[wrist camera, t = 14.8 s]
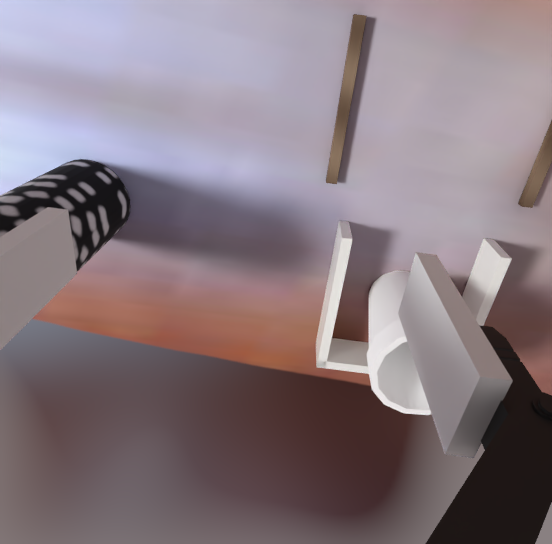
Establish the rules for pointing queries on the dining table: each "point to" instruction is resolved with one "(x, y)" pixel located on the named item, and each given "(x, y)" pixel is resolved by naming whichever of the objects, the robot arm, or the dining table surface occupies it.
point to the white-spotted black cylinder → (72, 204)
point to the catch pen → (354, 353)
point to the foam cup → (392, 348)
